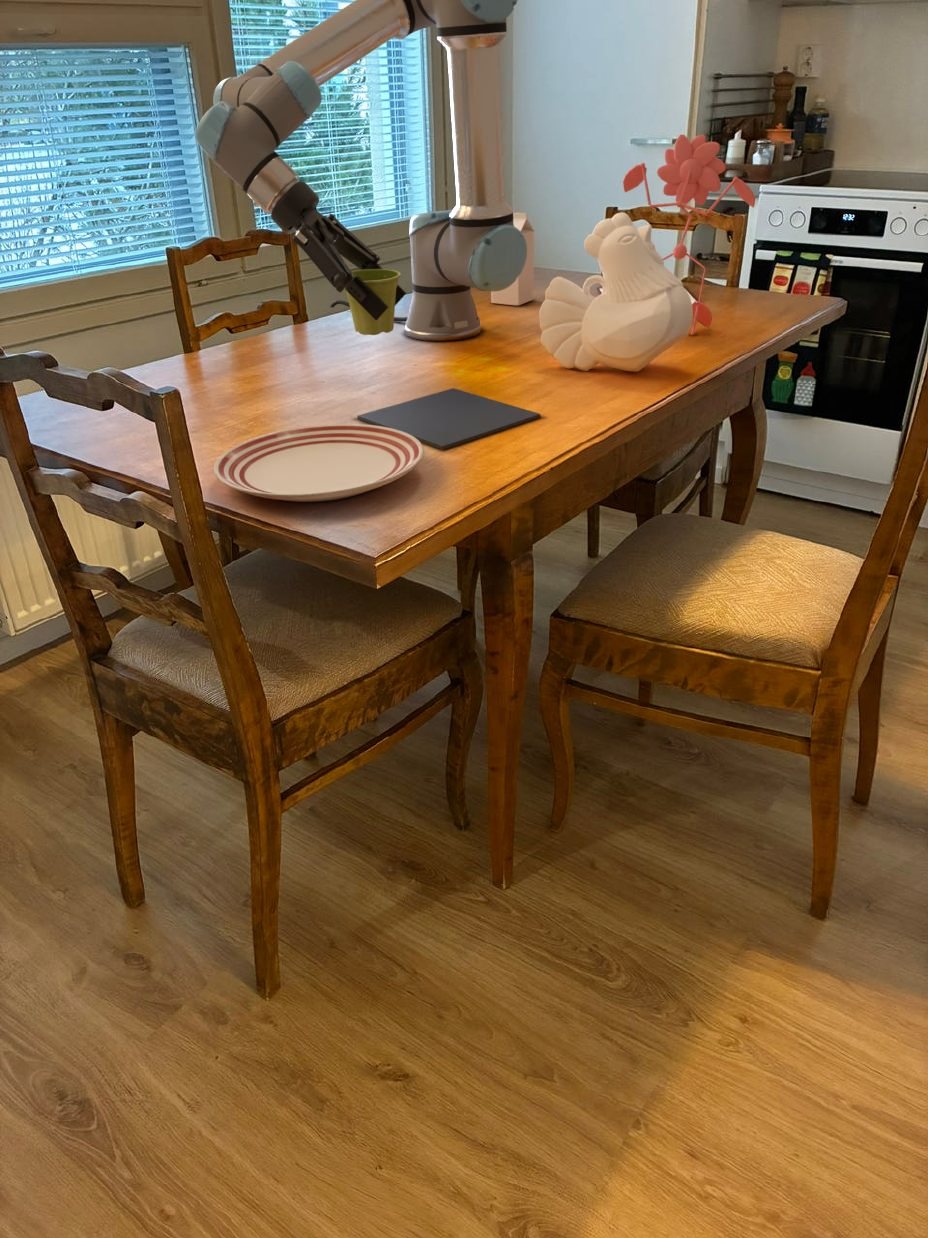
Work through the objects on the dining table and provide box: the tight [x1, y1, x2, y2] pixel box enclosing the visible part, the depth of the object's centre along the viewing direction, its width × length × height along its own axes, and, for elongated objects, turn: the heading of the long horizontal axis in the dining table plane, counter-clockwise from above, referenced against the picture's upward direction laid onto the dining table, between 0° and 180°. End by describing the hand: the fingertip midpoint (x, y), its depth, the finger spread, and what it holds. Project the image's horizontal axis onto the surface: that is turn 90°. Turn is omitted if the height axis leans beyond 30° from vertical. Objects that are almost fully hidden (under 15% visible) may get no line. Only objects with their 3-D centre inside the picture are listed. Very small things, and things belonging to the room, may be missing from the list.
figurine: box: [622, 134, 756, 338], centre depth 187 cm, size 15×26×35 cm, turn 64°
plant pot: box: [344, 268, 402, 336], centre depth 152 cm, size 9×9×9 cm
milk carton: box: [490, 212, 535, 307], centre depth 215 cm, size 7×7×19 cm
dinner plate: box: [213, 423, 425, 503], centre depth 127 cm, size 27×27×3 cm
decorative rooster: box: [538, 211, 694, 373], centre depth 166 cm, size 25×16×25 cm
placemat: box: [356, 387, 542, 451], centre depth 148 cm, size 20×20×1 cm
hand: (391, 306), depth 151 cm, fingers closed on plant pot, 9 cm apart
